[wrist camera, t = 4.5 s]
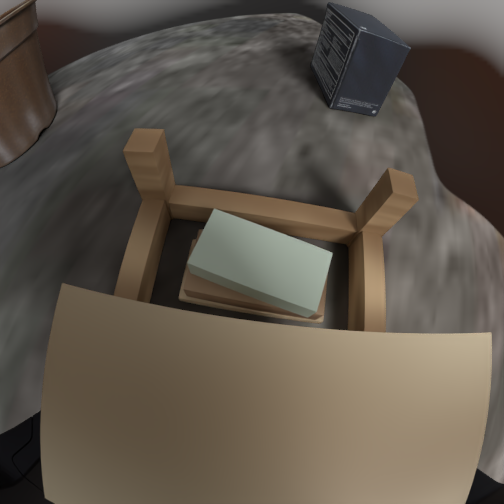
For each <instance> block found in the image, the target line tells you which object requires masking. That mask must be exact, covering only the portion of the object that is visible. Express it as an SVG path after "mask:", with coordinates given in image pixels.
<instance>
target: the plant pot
mask: <svg viewBox="0 0 504 504" xmlns="http://www.w3.org/2000/svg"><path fill="white" fill-rule="evenodd" d="M35 2H36V0H26V1H24V2H22V3H20V4H19V5H17V6H15V7H13V8H12V9H10V10H9V11H7V12H5V13H4V14H2V15H1V16H0V168H1V167H3V166H5V165H7V164H9V163H11V162H12V161H14V160H15V159H17V158H18V157H19V156H21V155H22V154H23V153H24V152H25V151H27V150H28V149H29V148H30V147H31V146H32V145H33V144H34V143H35V142H36V141H37V140H38V137H39V134H40V132H41V131H42V130H43V129H44V128H47V127H49V125H50V124H51V122H52V120H53V118H54V116H55V113H56V109H57V104H56V100H55V97H54V95H53V92H52V89H51V85H50V82H49V79H48V76H47V72H46V69H45V65H44V61H43V57H42V53H41V48H40V44H39V40H38V34H37V27H38V20H37V14H36V5H35Z"/></svg>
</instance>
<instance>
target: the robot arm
mask: <svg viewBox="0 0 504 504" xmlns="http://www.w3.org/2000/svg"><path fill="white" fill-rule="evenodd" d="M40 424H41V411H39V412H38V413H36V414H35V415H33V417H30V418H28V419H27V420H25V421H24V422H22V423H21V424H19V425H17V426H16V427H14V428H12V429H10V430H8V431H6V432H4V433H2V434H0V504H55V503H53V502H51V501H49V500H47V499H46V498H45V495H44V487H43V478H42V466H41V445H40ZM465 504H504V484H501V483H499V482H496V481H495V480H493V479H492V478H490V477H489V476H487V475H486V474H485V473H483V472H482V471H480V470H479V469H476V472H475V476H474V479H473V482H472V486H471V489H470V492H469V495H468V497H467V500H466V503H465Z"/></svg>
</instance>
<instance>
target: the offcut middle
mask: <svg viewBox="0 0 504 504" xmlns="http://www.w3.org/2000/svg"><path fill="white" fill-rule="evenodd" d="M202 232H203V230H202V229H199V232H198V235H197V239H196V242H195V246H196V244H197V242H198V240H199V238H200V236H201V234H202ZM195 246H194V248H195ZM327 274H328V273H327ZM326 287H327V277H326V281H325V284H324V288H323V292H322V295H321V299H320V302H319V306H318V309H317V312H316V313H314V314H313V315H311V316H310V317H308V318H307V317H304V316H301V315H298V314H296V313H293V312H290V311H287V310H284V309H282V308H279V307H276V306H274V305H271V304H268V303H266V302H263V301H260V300H258V299H255V298H252V297H250V296H247V295H244V294H242V293H239V292H237V291H234V290H231V289H229V288H226V287H224V286H221V285H219V284H216V283H214V282H211V281H209V280H206V279H204V278H201V277H199V276H196V275H194V274H191V273H190V270H189V268H188V272H187V276H186V279H185V283H184V287H183V290H184V292H185V294H186V296H188V297H193V298H197V299H202V300H207V301H211V302H216V303H221V304H226V305H231V306H236V307H241V308H247V309H252V310H257V311H263V312H268V313H274V314H280V315H286V316H292V317H298V318H305V319H311V320H316V319H318V318H320V317H322V316H323V315H324V309H325V299H326Z"/></svg>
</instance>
